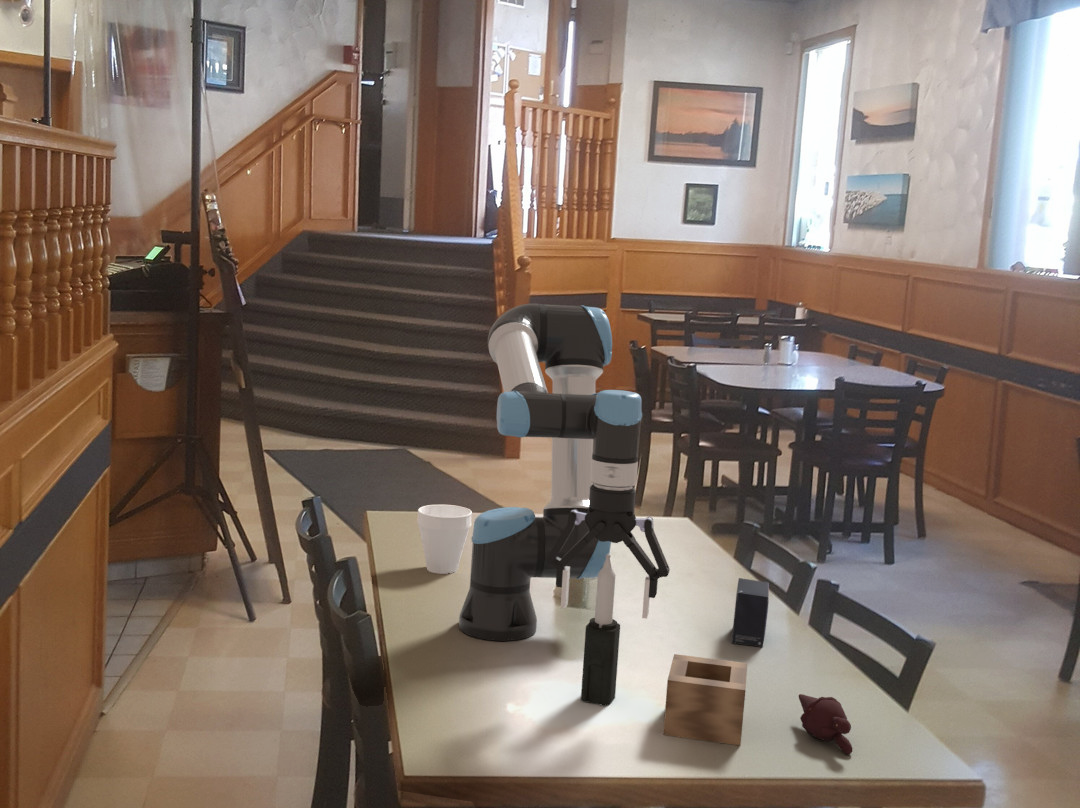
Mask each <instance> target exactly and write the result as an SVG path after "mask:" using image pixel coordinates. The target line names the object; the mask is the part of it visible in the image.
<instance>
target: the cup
mask: <svg viewBox="0 0 1080 808" xmlns="http://www.w3.org/2000/svg"><path fill="white" fill-rule="evenodd" d="M417 513H418V514H417V519H416V524H417V526H418V527H419V528H418V529H419V532H420V538H421V543H422V549H423V554H424V561H425V564H426V565H425V566H426V570H427V571H428V572H430V573H432V574H433V573H434V574H437V575H438V574H439V575H440V574H441V575H447V574H448V573H450V574H454V573H456V572H457V571H458V569H459V566H460V561H461V558H462V555H463V551H464V548H465V544H466V541H467V537H468V534H469V530H470V527H472V525H473V524H472V514H473V512H472V510H471V509H470V508H467V507H464V506H460V505H453V504H428V505H423V506H421V507H419V508H418V509H417ZM453 572H454V573H453Z"/></svg>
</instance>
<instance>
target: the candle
mask: <svg viewBox="0 0 1080 808" xmlns="http://www.w3.org/2000/svg"><path fill="white" fill-rule="evenodd" d="M605 557H606V560H605V562H604V565H603V567H602V569H601V570H600V571H599V573H598V577H597V583H596V597H595V612H594V617H592V618H590V619H589V623H587V624H586V626H585V630H584V631H585V635H584V647H583V659H582V660H583V661H582V662H583V664H582V675H581V677H582V679H581V690H580V691H581V692H580V693H581V694H580V700H581V701H582V702H584V703H590V704H596V705H600V706H609V705H611V704H612V702H613V701H615V699H616V689H617V688H616V687H617V676H618V675H617V674H618V663H619V662H618V661H619V651H620V650H619V649H620V647H619V646H620V633H621V624H620V623H618V621H617V620H615V619H613V618H614V617H613V616H614V615H613V614H614V604H615V590H616V588H615V587H616V576H617V575H616V573H615V570H614V569H613V566H612V562H611V554H610V553H609V554H607V555H606V556H605Z"/></svg>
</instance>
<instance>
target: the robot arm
mask: <svg viewBox="0 0 1080 808" xmlns="http://www.w3.org/2000/svg"><path fill="white" fill-rule="evenodd" d="M487 347H488V351H489V352H488V353H489V355H490V357H491V359H492V360H493V362H494V363H495V364H496V365H497V368H498V371H499V377H500V381H501V387H502V390H503V392H501V393H500V394H499V396H498V398H497V403H496V404H497V405H496V429H497V431H498V433H499V434H500V435H502V436H507V437H508V436H509V437H516V438H521V439H522V438H547V439H550V438H551V483H550V484H551V486H550V487H551V491H550V493H551V495H550V498H551V499H550V501H549V502H548V503H547V504H545V506H544V507H543V508H542V509H543V511H542V512H543V515H542V517H541V516H540V517H539V516H537V517H536V513H535V512H534V511H533V509H530V508H529V507H519V506H507V507H499V508H494V509H489V510H486V511H484V512H482V513H480V514H479V515H478V516H477V517H476V518H475V519H474V522H473V528H472V536H471V538H470V539H471V543H472V546H471V547H472V549H471V560H470V561H471V562H470V563H471V565H470V576H469V577H470V579H469V580H470V581H469V590H468V592H467V595H466V597H465V599H464V602H463V605H462V607H461V610H460V613H459V617H458V628H459V630H460V631H461V632H463V633H464V634H466V635H467V636H471V637H474V638H477V639H481V640H488V641H496V642H497V641H498V642H500V641H501V642H502V641H503V642H504V641H507V642H508V641H517V640H522V639H523V640H524V639H527V638H529V637H531V636H533V635H534V634H535V633H536V632H537V625H538V624H537V623H538V620H537V614H536V611H535V607H534V602H533V599H532V596H531V591H530V590H531V586H530V585H531V578H543V579H545V578H546V579H555V586H556V588H561V594H560V595H561V598H560V609H563V610H565V609H566V608H567V606H568V604H569V592H570V591H569V590H570V579H576V580H581V579H595V578H598V573H599V571H600V570H601V569H602V567H603V565H604V562H605V560H606V557H605V556H606V555H607V554H610V553H611V552H610V551H611V546H612V544H619V543H622V542H623V543H624V545H625V546H626V547H627V548H628V549H629V551H630V552H631V553H632V554H633V556H634V558H635V559H636V560H637V561H638V563H639V565H640V566H641V567H642V569H643V570H644V572H645V573H646V577H645V579H644V590H643V602H642V604H643V605H642V614H641V615H642V618H641V619H648V616H649V613H650V612H649V611H650V598H651V599H655V598H656V595H657V594H658V593H657V592H658V583H659V582H658V581H659V579H660V578H663V577H664V578H666V577H668V576H669V574H670V570H671V569H670V567H669V564H668V562H667V560H666V556H665V554H664V553H663V549H662V547H661V545H660V542H659V539H658V537H657V535H656V533H655V531H654V519H653V517H652V516H647V517H646V518H642V517H641V518H638V517H636V515H635V507H636V506H635V505H636V493H637V490H636V489H635V487H634V486H636V485H637V481H638V478H637V477H638V468H639V467H638V465H639V461H638V460H639V450H640V449H639V448H640V439H641V438H640V436H641V435H640V434H641V423H642V418H643V412H642V404H643V403H642V401H643V400H642V397H641V395H640V394H639V393H637V392H635V391H634V392H633V391H630V390H629V391H628V390H621V389H604V390H600V391H599V392H596V381H597V380H598V379H599V378H600V377H601V375H602V374H603V373H604V367H605V366H608V365H609V364H610V363H611V361H612V355H613V352H612V350H613V336H612V329H611V325H610V320H609V318H608V316H607V313H606V312H605V311H604V310H603V309H601V308H600V307H595V306H585V305H583V304H581V305H573V304H572V305H570V304H569V305H568V304H543V303H525V304H520V305H517V306H515V307H512V308H511V309H508V310H506V311H505V312H504V313H502V314H501V315H500V316H499V317H498V318H497V319H496V320H495V322H494V323H493V324H492V326H491V328H490V330H489V332H488V336H487ZM540 363H544V365H545V366H544V372H545V374H546V375H547V376H548V377H549V378H550V379H551V381H552V392H551V393H550V392H548V388H547V385H546V382H545V378H544V375H543V372H542V369H541V368H542V367H541V365H540ZM636 526H637V527H638V528H639V530H640V531H641V533H642V532H643V533H644V535H645V538H646V541H647V543H648V545H649V550H650V551H651V553H652V556H653V558H654V561H655V563H656V565H657V567H656V566H655V565H654V563H653V561H652V560H651V559H650V557H649V556H648V555H647V553H646V552H645V550H644V549H643V548H642V546H641V545H640V543H639V542H638V541H637V539H636V537H635V535H634V534H633V532H632V531H633V530H634V529H635V528H636Z"/></svg>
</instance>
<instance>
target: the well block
mask: <svg viewBox="0 0 1080 808" xmlns="http://www.w3.org/2000/svg"><path fill="white" fill-rule="evenodd" d="M747 672H748V663H747V662H739V661H731V660H723V659H716V658H709V657H700V656H693V655H684V654H677V653H676V654H673V656H672V662H671V664H670V670H669V673H668V677H667V684H666V693H665V694H666V695H665V696H666V697H665V707H664V708H665V709H664V720H663V722H664V723H663V731H662V733H663V735H664V736H671V737H678V738H683V739H684V738H685V739H691V740H698V741H706V742H712V743H719V744H727V745H734V746H741V744H742V743H741V742H742V736H743V735H742V733H743V724H744V723H743V721H744V713H745V712H744V710H745V700H746V690H747V689H746V688H747V676H748V673H747Z"/></svg>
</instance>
